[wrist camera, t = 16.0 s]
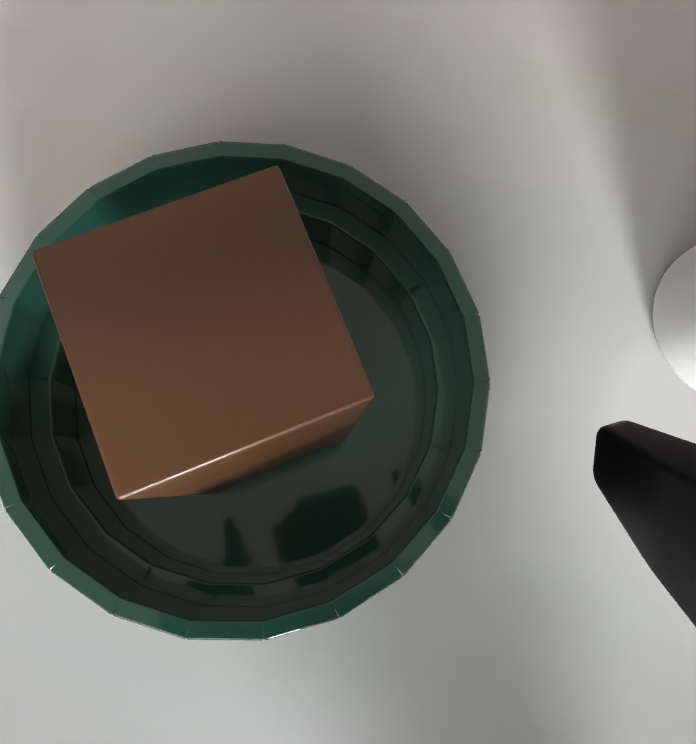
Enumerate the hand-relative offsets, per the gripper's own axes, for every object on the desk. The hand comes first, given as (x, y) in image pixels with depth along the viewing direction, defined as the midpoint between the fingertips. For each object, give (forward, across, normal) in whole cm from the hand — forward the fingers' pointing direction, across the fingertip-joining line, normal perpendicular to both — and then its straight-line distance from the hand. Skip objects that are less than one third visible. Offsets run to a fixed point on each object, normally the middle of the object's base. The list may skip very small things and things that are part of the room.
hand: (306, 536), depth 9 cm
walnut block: (+12, 0, +5) cm, 13 cm away
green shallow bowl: (+13, 0, +6) cm, 14 cm away
